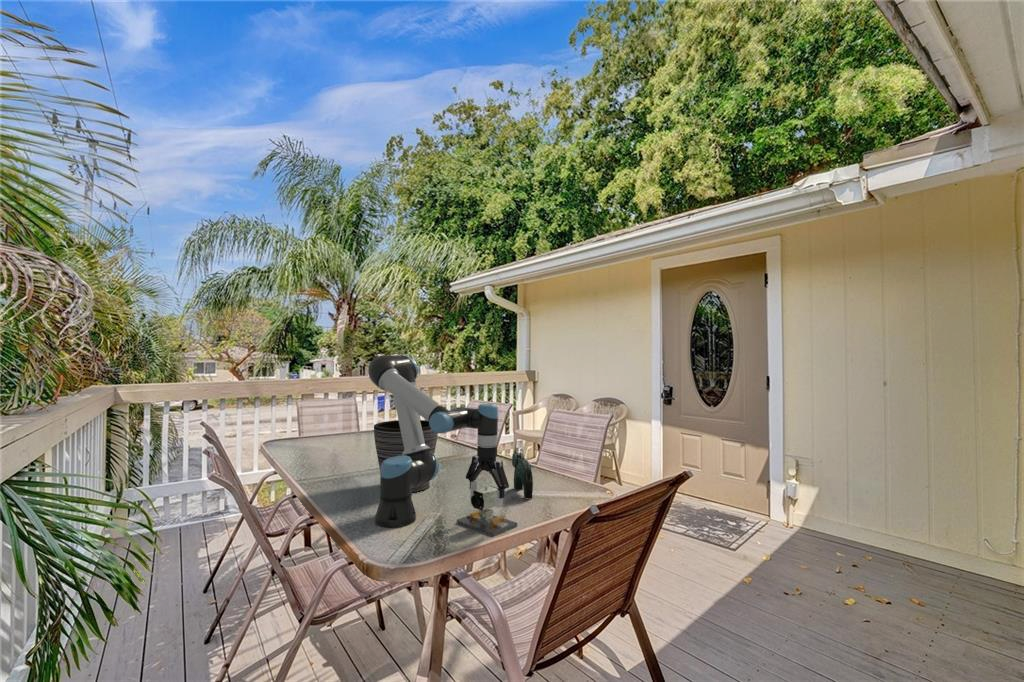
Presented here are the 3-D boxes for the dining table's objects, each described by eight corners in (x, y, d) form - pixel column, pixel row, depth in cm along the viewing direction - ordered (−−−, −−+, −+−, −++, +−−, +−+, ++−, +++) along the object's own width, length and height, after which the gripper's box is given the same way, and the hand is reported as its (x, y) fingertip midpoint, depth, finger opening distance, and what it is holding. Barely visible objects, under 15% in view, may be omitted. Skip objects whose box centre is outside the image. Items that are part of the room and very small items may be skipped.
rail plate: (493, 536, 162) (493, 526, 162) (456, 523, 174) (456, 513, 174) (517, 526, 171) (517, 516, 172) (480, 514, 184) (480, 505, 184)
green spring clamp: (510, 487, 221) (510, 445, 222) (523, 486, 223) (523, 444, 224) (523, 500, 202) (523, 454, 203) (537, 498, 204) (537, 453, 205)
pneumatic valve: (470, 521, 170) (470, 488, 171) (493, 513, 179) (493, 482, 179) (480, 525, 167) (480, 491, 167) (503, 517, 175) (503, 485, 175)
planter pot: (370, 499, 202) (371, 430, 203) (374, 480, 231) (375, 420, 232) (440, 494, 209) (440, 428, 210) (435, 477, 238) (436, 419, 239)
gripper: (519, 449, 168) (518, 507, 168) (471, 439, 184) (470, 493, 184) (505, 452, 163) (504, 513, 162) (457, 442, 179) (456, 497, 178)
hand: (486, 502), depth 173 cm, fingers open, 13 cm apart
